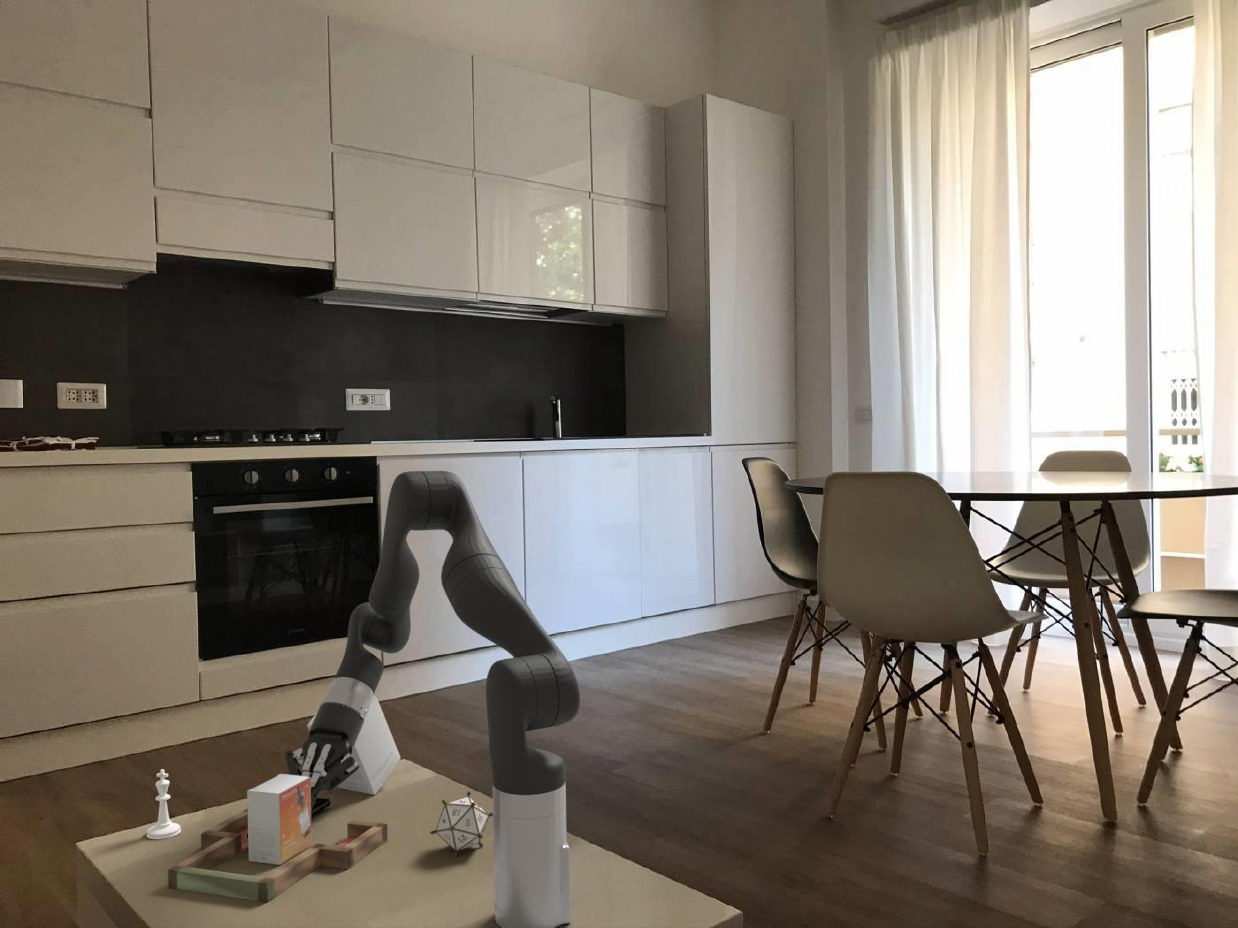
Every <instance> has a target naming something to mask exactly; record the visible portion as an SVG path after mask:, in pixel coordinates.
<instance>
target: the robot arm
mask: <svg viewBox="0 0 1238 928" xmlns="http://www.w3.org/2000/svg"><path fill="white" fill-rule="evenodd" d="M467 490H468V489H467V488H466V486H465V484H464V483H463V480H461V478H460V476H458V475H456V473H454V472H451V471H447V470H446V471H445V470H411V471H409V470H408V471H404V472H401V473H399V474H398V475H397V476H396V477H395V479H394V480H393V483H392V485H391V488H390V491H389V496H388V499H387V500H388V501H387V507H386V515H385V521H384V529H383V536H382V542H381V543H382V545H381V554H380V558H379V564H378V567H377V570H376V573H375V577H374V578H373V582H372V585H371V588H370V591H369V595H368V602H363V603H361V604H358V605H357V606H356V607H355V608H354V610H353V611H352V612H351V614H350V618H349V621H348V622H349V623H348V630H347V640H346V645H345V646H346V647H345V650H344V655H343V657H342V660H341V663H340V665H339V668H338V669H337V672H336V674H335V676H334V678H333V681H332V682H331V684H330V686H329V687H328V689H327V691H326V692H325V695H324V697H323V699H322V701H321V703H320V705H319V708H318V710H317V712H316V713H315V715H316V716H315V715H314V716H315V718H314V721H313V723H312V725H311V728H310V732H309V734H308V737H307V738H306V739H305V740H304V741H303V742H302V744H301V747H300V748H298V749H297V750H294V751H292V750H291V749H289V750H286V751H285V753H284V758H285V760H286V765H287V768H288V773H289V774H288V775H297V776H306V777H310V779H311V811H312V810H313V808H314V805H315V803H316V800H317V798H318V796H319V795H320V794H321V793H322V792H325V791H327V792H332V791H333V790H335V788H337V786H338V785H339V784H341V783H342V782H343V781H344V780H346V779H347V778H348V777H349V776H351V775H352V774H353V773H354V772H356V771H357V770H358V769H359V764H358V763H357V762H356V760H355V759H354V758H353V757H352V756H351V754H352V746H354V744H355V743H356V740H357V738H358V735H359V733H360V731H361V728H362V726H363V723H364V721H365V718H366V716H367V714H368V711H369V709H370V706H371V702H372V698H373V696H374V695H375V693H376V691H377V688H378V686H379V683H380V681H381V679H382V676H383V673H384V670H385V669H384V668H385V667H384V663H383V661H381V659H380V658H379V657H378V656H376V655H375V654H373V653H372V652H370V651H369V650H367V648H365V646H367V647H370V648H372V649H375V650H378V651H380V652H383V653H387V654H397V653H398V652H400V651H402V650H403V649H404V648H405V647H406V645H407V644H408V642H409V639H410V636H411V629H412V627H411V624H412V623H411V604H412V601H413V598H414V596H415V593H416V590H417V588H418V585H419V580H420V568H419V564H418V561H417V559H416V558H415V555H414V553H413V551H412V550H411V548H410V546H409V543H408V541H407V537H408V534H409V533H410V532H411V531H417V532H419V531H436V530H437V531H439V530H441V531H445V532H448V533H449V535H450V536H451V538H452V543H451V545H450V548H449V549H448V551H447V554H446V556H445V559H444V561H443V563H442V568H441V574H440V580H441V586H442V588H443V591H444V593H445V595H446V597H447V599H448V601H449V603H450V605H451V607H452V609H453V611H454V613H455V614H456V616H457V617H458V619H459V620H460V621H461V622H462V623H463V624H464V625H465V626H467V628H469V629H470V630H472V631H473V632H475V633H476V634H478V635H479V636H481V637H483V638H484V639H486V640H488V641H490V642H491V643H493V644H495V645H497V646H499V647H500V648H502V649H503V650H504V651H506V652H507V653H508V654H509V655H511V656H512V657H510V658H504V659H499V660H496V661H495V662H493V663H492V664H491V666H490V668H489V670H488V673H487V675H486V681H485V682H486V683H485V700H486V703H485V704H486V705H485V706H486V715H487V729H488V750H489V759H490V760H489V761H490V766H491V773H492V809H493V810H492V813H493V816H492V818H493V819H492V820H493V821H492V822H493V823H492V825H493V829H492V832H493V833H492V835H493V873H494V874H493V878H494V879H493V882H494V884H493V888H494V890H493V891H494V899H493V900H494V921H495V922H496V924H497V925H498V926H499V927H500V928H557V927H559V926H561V925H563V924H564V925H565V924H569V923H572V912H571V909H572V908H571V907H572V906H571V904H572V903H571V896H572V895H571V850H570V846H569V844H568V841H567V799H566V798H567V795H566V794H567V793H566V792H567V790H566V788H567V787H566V782H567V781H566V779H567V778H566V776H567V774H566V764H565V761H564V759H563V758H562V756H559V754H556V753H554V752H551V751H548V750H544V749H539V748H533V747H531V746H528V742H527V734H526V732H529V731H531V732H532V731H536V730H543V729H546V728H547V729H548V728H551V727H553V728H554V727H557V726H561V725H564V724H566V723H567V724H568V722H571V721H572V720H573V719H574V718H575V717H576V715H577V714H578V712H579V709H580V704H581V695H580V694H581V693H580V687H579V684H578V681H577V677H576V675H575V673H574V670H573V668H572V666H571V664H570V662H569V661H568V659H567V658H566V656H565V654H564V653H563V652H562V650H561V649H560V648H559V646H557V644H556V643H555V641H554V640H553V639H552V637H551V636H550V635H549V634H548V632H547V631H546V630H545V628H544V627H543V626H542V625H541V623H540V621H538V619H537V618H536V616H535V615H534V613H533V611H532V610H531V609H530V607H529V605H528V604H527V602H526V600H525V599H524V596H523V595H522V594H521V592H520V590H519V588H518V586H517V584H516V582H515V581H514V579H513V576H512V575H511V573H510V571H509V570H508V567H506V565H505V563H504V561H503V560H502V559H501V557H500V556H499V554H498V553H497V551H496V549H495V547H494V546H493V544H492V541H491V540H490V538H489V536H488V535H487V533H486V531H485V529H484V527H483V525H482V523H481V520H480V519H479V517H478V514H477V512H476V510H475V507H474V504H473V502H472V500H471V497H470V495H469V493H468V491H467ZM364 645H365V646H364ZM303 761H304V762H303ZM302 764H303V766H301V765H302Z"/></svg>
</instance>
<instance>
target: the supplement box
mask: <svg viewBox="0 0 1238 928" xmlns="http://www.w3.org/2000/svg"><path fill="white" fill-rule="evenodd" d="M315 716H316V714H314V715H313V717H312V718H311V719H310V720H309V722H308V724H306V727H307V730H308V732H309V733H310V728H311V725H312V723H313V721H314V718H315ZM393 737H394V736H393V735H392V733H391V730H390V727H389V724H388V723H387V719H386V718H385V715H384V712H383V710H382V707H381V704H380V702H379V699H378V697H377V696H374V695H373V698H372V702H371V706H370V709H369V711H368V714H367V716H366V718H365V721H364V723H363V726H362V728H361V731H360V733H359V735H358V738H357V740H356V743H355V744H354V746H352V754H351V756H352V757H353V758H354V759H355V760H356V762H357V763H358V764H359V769H358V770H357V771H356V772H354V773H353V774H352V775H351V776H349V777H348V778H347V779H346V780H344V781H343V782H342V783H341V784H339V785H338V786H337V787H336V788H339V789H344V790H348V791H353V792H358V793H364V794H369V795H373V796H374V795H376V794H377V793H378V791H379V790H380V788H381V787H382V786H383V784H384V783H385V782H386V780H387V778H388V777H389V776H390V774H391V772H392V771H393V770H394V769H395V767H396V766H397V764H398V762H400V760H401V755H400V753H399V750H398V748H397V744H396V743H395V742H396V741H395V740H394V738H393Z"/></svg>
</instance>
